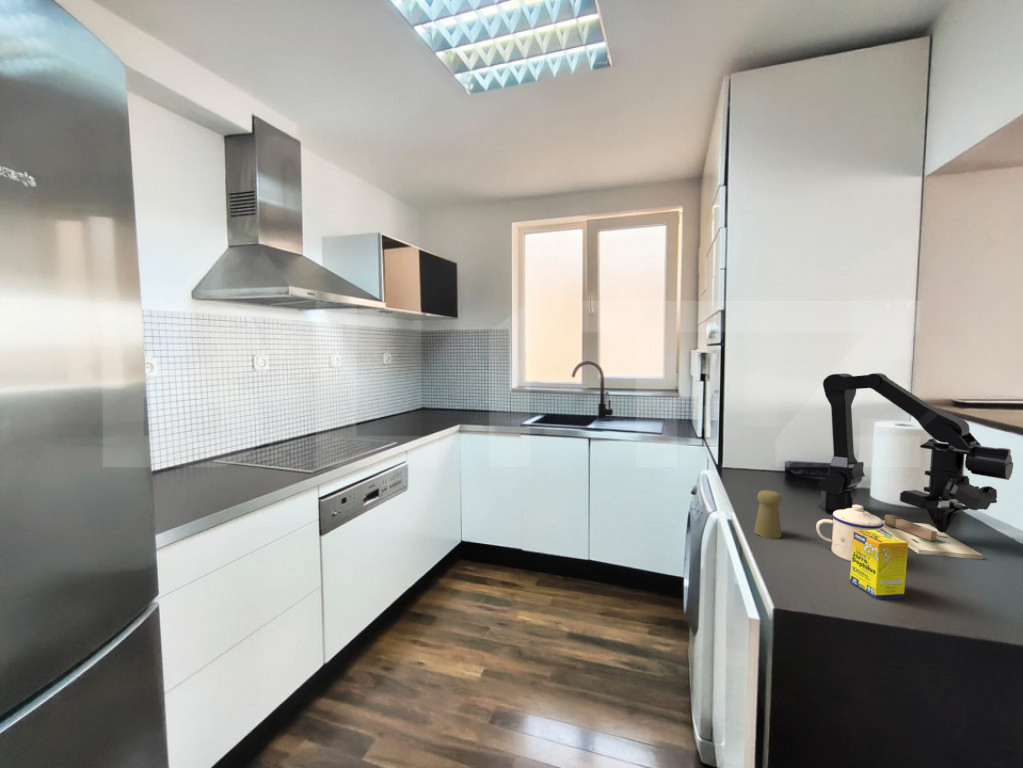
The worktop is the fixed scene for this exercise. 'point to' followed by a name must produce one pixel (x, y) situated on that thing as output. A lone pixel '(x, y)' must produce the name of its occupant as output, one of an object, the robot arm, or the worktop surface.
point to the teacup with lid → (848, 528)
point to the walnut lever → (910, 527)
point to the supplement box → (878, 563)
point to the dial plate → (933, 543)
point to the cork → (768, 515)
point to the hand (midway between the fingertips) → (941, 532)
